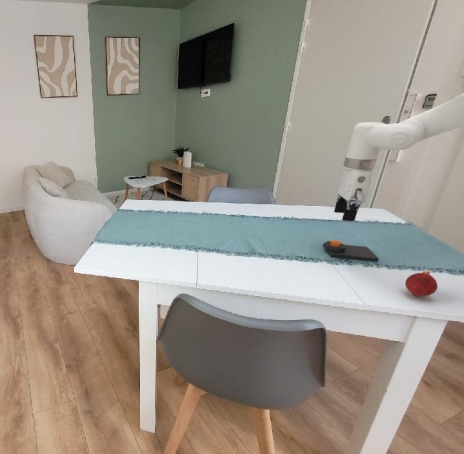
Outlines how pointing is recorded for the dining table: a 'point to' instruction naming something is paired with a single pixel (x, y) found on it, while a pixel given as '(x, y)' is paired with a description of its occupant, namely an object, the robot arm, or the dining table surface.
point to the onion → (421, 284)
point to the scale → (350, 252)
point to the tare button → (335, 243)
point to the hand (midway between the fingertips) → (343, 216)
